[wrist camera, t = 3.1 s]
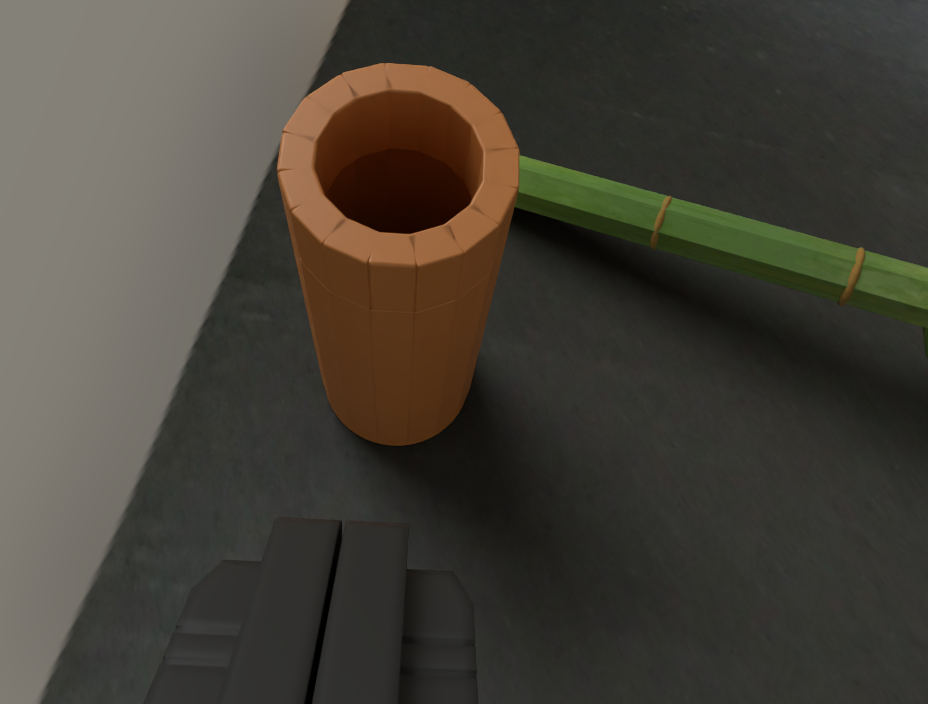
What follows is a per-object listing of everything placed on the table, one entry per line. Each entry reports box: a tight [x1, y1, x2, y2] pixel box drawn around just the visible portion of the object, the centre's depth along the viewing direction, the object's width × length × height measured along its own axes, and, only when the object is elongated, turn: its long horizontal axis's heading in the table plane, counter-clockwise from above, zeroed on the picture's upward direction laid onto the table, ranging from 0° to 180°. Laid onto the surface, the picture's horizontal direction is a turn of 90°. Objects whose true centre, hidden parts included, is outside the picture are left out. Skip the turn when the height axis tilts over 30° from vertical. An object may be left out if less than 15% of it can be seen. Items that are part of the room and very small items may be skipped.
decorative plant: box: [515, 156, 928, 357], centre depth 35 cm, size 6×8×30 cm
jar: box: [277, 63, 520, 446], centre depth 28 cm, size 6×6×15 cm
